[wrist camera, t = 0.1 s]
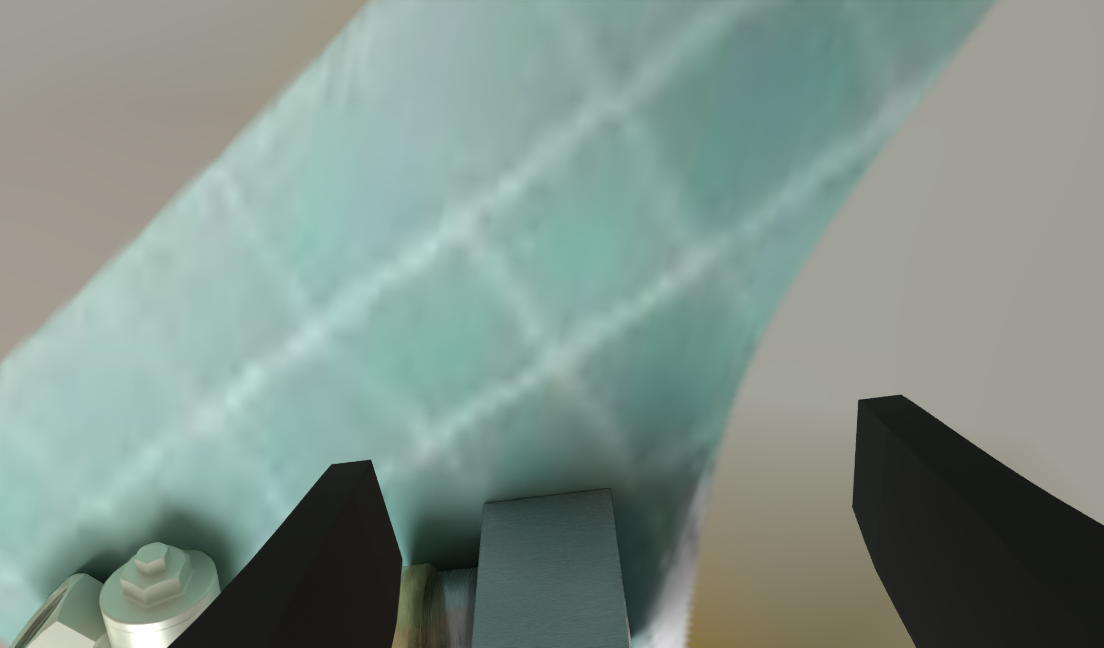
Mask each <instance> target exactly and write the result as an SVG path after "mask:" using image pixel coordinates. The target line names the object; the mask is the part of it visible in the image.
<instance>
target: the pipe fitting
mask: <svg viewBox="0 0 1104 648" xmlns="http://www.w3.org/2000/svg"><path fill="white" fill-rule="evenodd" d="M220 593H221V591H220V585H219V580H218V575H217V570H216V566H215V563H214V562H213V560H212V559H211V558H210V557H209V556H208V555H207V554H205V553H204V552H202V551H199V550H180V549H179V548H176V547H174V546H170V545H165V544H163V543H160V542H155V543H151V544H148V545H145V546H143V547H141V548H140V549H139V551H138V552H137V554H136V555H134V556H132V557H131V559H130V560H129V561H128V562H127V563H125V564H124V565H122V566H121V567H120V568H118V569H117V570H116V571H115V572H114V573H113V574H112V575H111V576H110V577H109V578H108V580H107V581H106V582H105V584H103V583H101V582H100V581H98V580H96V579H95V578H93V577H91V576H89V575H88V574H86V573H80V574H74V575H72V576H70V577H69V578H68V579H66V580H65V581H64V582H63V583H62V584H61V585H60V586H59V587H58V588H57V589H56V590H55V591H54V592H53V593H52V594H51V595H50V596H49V597H48V599H47V600H46V601H45V602H44V603H43V604H42V605H41V607H40V608H39V609H38V610H37V611H36V613H35V614H34V615H33V616H32V617H31V619H30V620H29V621H28V622H27V624H26V625H25V626H24V628H23V629H22V630H21V632H20V633H19V634H18V636H17V637H16V638H15V640H14V641H13V642H12V644H11V645H10V647H9V648H167V647H168V646H169V645H170V644H171V643H172V642H173V641H174V640H175V639H176V638H177V637H178V636H179V635H181V634H182V633H183V632H184V631H185V630H186V629H187V628H188V627H189V626H190V625H191V624H192V623H193V622H194V621H195V620H196V619H197V618H198V617H199V616H200V615H201V613H202V612H203V611H204V610H205V609H206V608H207V607H208V606H209V605H210V604H211V603H212V602H213V601H214V600H215V598H216V597H217V596H218V595H219V594H220Z"/></svg>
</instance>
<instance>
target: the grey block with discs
mask: <svg viewBox="0 0 1104 648" xmlns="http://www.w3.org/2000/svg"><path fill="white" fill-rule="evenodd" d="M392 648H632V643H631V635H630V628H629V620H628V613H627V606H626V599H625V591H624V584H623V577H622V570H621V562H620V555H619V548H618V541H617V533H616V526H615V519H614V512H613V504H612V497H611V490H610V489H602V490H593V491H585V492H577V493H568V494H560V495H552V496H543V497H535V498H527V499H519V500H510V501H502V502H494V503H485V504H484V505H483V517H482V529H481V541H480V553H479V565H478V567H477V568H468V569H459V570H451V571H442V572H437V571H436V570H435V568H434V567H433V566H432V565H431V564H419V565H411V566H402V572H401V585H400V597H399V607H398V617H397V625H396V629H395V634H394V639H393V644H392Z"/></svg>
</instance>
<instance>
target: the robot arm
mask: <svg viewBox="0 0 1104 648" xmlns="http://www.w3.org/2000/svg"><path fill="white" fill-rule="evenodd" d="M852 507H853V510H854V513H855V516H856V518H857V521H858V524H859V527H860V530H861V533H862V535H863V538H864V541H865V544H866V546H867V549H868V551H869V553H870V556H871V559H872V562H873V564H874V567H875V569H876V571H877V573H878V575H879V577H880V579H881V581H882V583H883V585H884V587H885V589H886V591H887V593H888V595H889V597H890V598H891V600H892V602H893V604H894V606H895V608H896V610H897V612H898V614H899V616H900V618H901V619H902V622H903V623H904V625H905V627H906V629H907V631H908V633H909V635H910V636H911V638H912V640H913V642H914V644H915V646H916V648H1104V525H1102V524H1100V523H1099V522H1097V521H1095V520H1093V519H1092V518H1090V517H1088V516H1087V515H1085V514H1083V513H1082V512H1080V511H1078V510H1076V509H1075V508H1073V507H1071V506H1070V505H1068V504H1066V503H1064V502H1063V501H1061V500H1059V499H1057V498H1056V497H1054V496H1052V495H1051V494H1049V493H1048V492H1046V491H1045V490H1043V489H1041V488H1040V487H1038V486H1036V485H1035V484H1033V483H1032V482H1030V481H1029V480H1027V479H1025V478H1024V477H1022V476H1020V475H1019V474H1018V473H1016V472H1015V471H1013V470H1011V469H1010V468H1008V467H1007V466H1005V465H1004V464H1002V463H1001V462H999V461H998V460H996V459H995V458H993V457H992V456H990V455H989V454H987V453H986V452H984V451H983V450H981V449H980V448H978V447H977V446H976V445H974V444H973V443H971V442H970V441H968V440H967V439H965V438H964V437H962V436H961V435H959V434H958V433H957V432H955V431H954V430H952V429H951V428H949V427H948V426H946V425H945V424H944V423H942V422H941V421H939V420H938V419H937V418H935V417H934V416H932V415H931V414H929V413H928V412H926V411H925V410H923V409H922V408H921V407H919V406H917V405H916V404H915V403H913V402H912V401H910V400H909V399H907V398H906V397H904V396H903V395H894V396H886V397H878V398H870V399H862V400H858V417H857V434H856V451H855V470H854V487H853V505H852ZM401 572H402V556H401V553H400V550H399V547H398V543H397V540H396V537H395V534H394V531H393V528H392V524H391V521H390V518H389V515H388V512H387V509H386V505H385V502H384V499H383V496H382V493H381V490H380V486H379V483H378V480H377V477H376V474H375V471H374V467H373V464H372V461H371V460H364V461H356V462H348V463H340V464H332V465H331V466H330V467H329V468H328V469H327V470H326V471H325V472H324V474H323V475H322V476H321V477H320V478H319V480H318V481H317V482H316V483H315V484H314V486H313V487H312V488H311V489H310V490H309V492H308V493H307V494H306V495H305V497H304V498H303V499H302V500H301V501H300V503H299V504H298V505H297V506H296V507H295V509H294V510H293V511H292V512H291V514H290V515H289V516H288V517H287V518H286V520H285V521H284V522H283V523H282V524H281V526H280V527H279V528H278V529H277V530H276V531H275V533H274V534H273V535H272V536H271V537H270V539H269V540H268V541H267V542H266V543H265V544H264V546H263V547H262V548H261V549H260V550H259V551H258V553H257V554H256V555H255V556H254V557H253V558H252V560H251V561H250V562H249V563H248V564H247V565H246V566H245V567H244V569H243V570H242V571H241V572H240V573H239V574H238V575H237V576H236V577H235V578H234V579H233V580H232V581H231V582H230V584H229V585H228V586H227V587H226V588H225V589H224V590H223V591H222V592H221V593H220V594H219V595H218V596H217V597H216V598H215V600H214V601H213V602H212V603H211V604H210V605H209V606H208V607H207V608H206V609H205V610H204V611H203V612H202V613H201V615H200V616H199V617H198V618H197V619H196V620H195V621H194V622H193V623H192V624H191V625H190V626H189V627H188V628H187V629H186V630H185V631H184V632H183V633H182V634H181V635H179V636H178V637H177V638H176V639H175V640H174V641H173V642H172V643H171V644H170V645H169V646H168V647H167V648H392V644H393V639H394V634H395V629H396V625H397V617H398V607H399V597H400V585H401Z"/></svg>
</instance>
